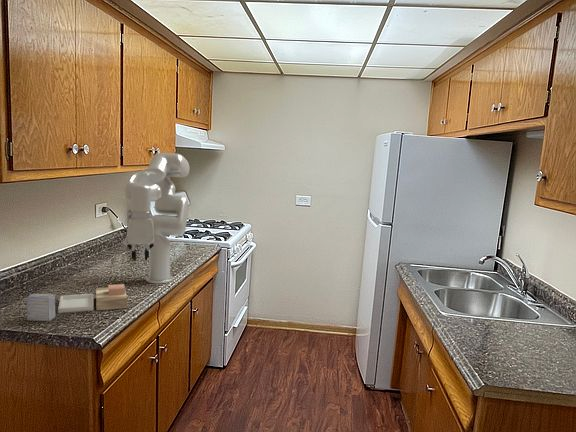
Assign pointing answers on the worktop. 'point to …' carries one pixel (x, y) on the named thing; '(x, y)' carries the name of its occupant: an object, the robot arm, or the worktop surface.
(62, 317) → the worktop surface
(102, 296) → the beige rectangular block
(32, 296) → the medicine box
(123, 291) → the tile
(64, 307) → the box
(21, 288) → the worktop surface
